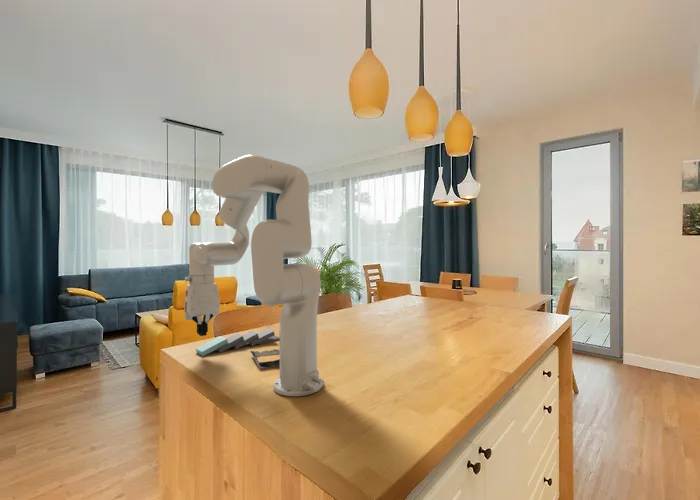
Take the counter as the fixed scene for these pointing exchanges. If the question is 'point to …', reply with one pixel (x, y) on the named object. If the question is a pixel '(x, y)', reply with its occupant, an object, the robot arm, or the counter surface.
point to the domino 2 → (246, 339)
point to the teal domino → (211, 345)
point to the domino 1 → (231, 342)
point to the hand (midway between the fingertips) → (202, 334)
